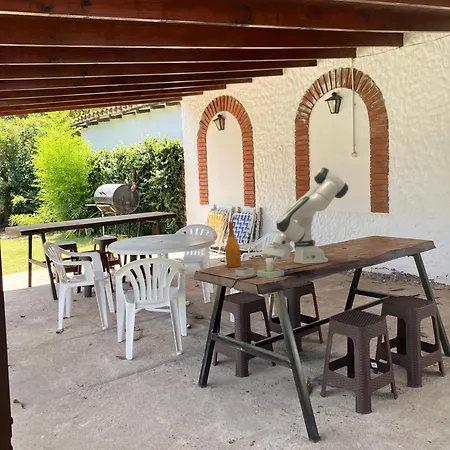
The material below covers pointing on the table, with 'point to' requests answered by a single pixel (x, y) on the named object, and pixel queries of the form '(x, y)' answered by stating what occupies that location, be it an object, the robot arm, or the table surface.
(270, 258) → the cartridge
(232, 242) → the wine bottle
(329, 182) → the robot arm
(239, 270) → the housing
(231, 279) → the table surface
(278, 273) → the tray
